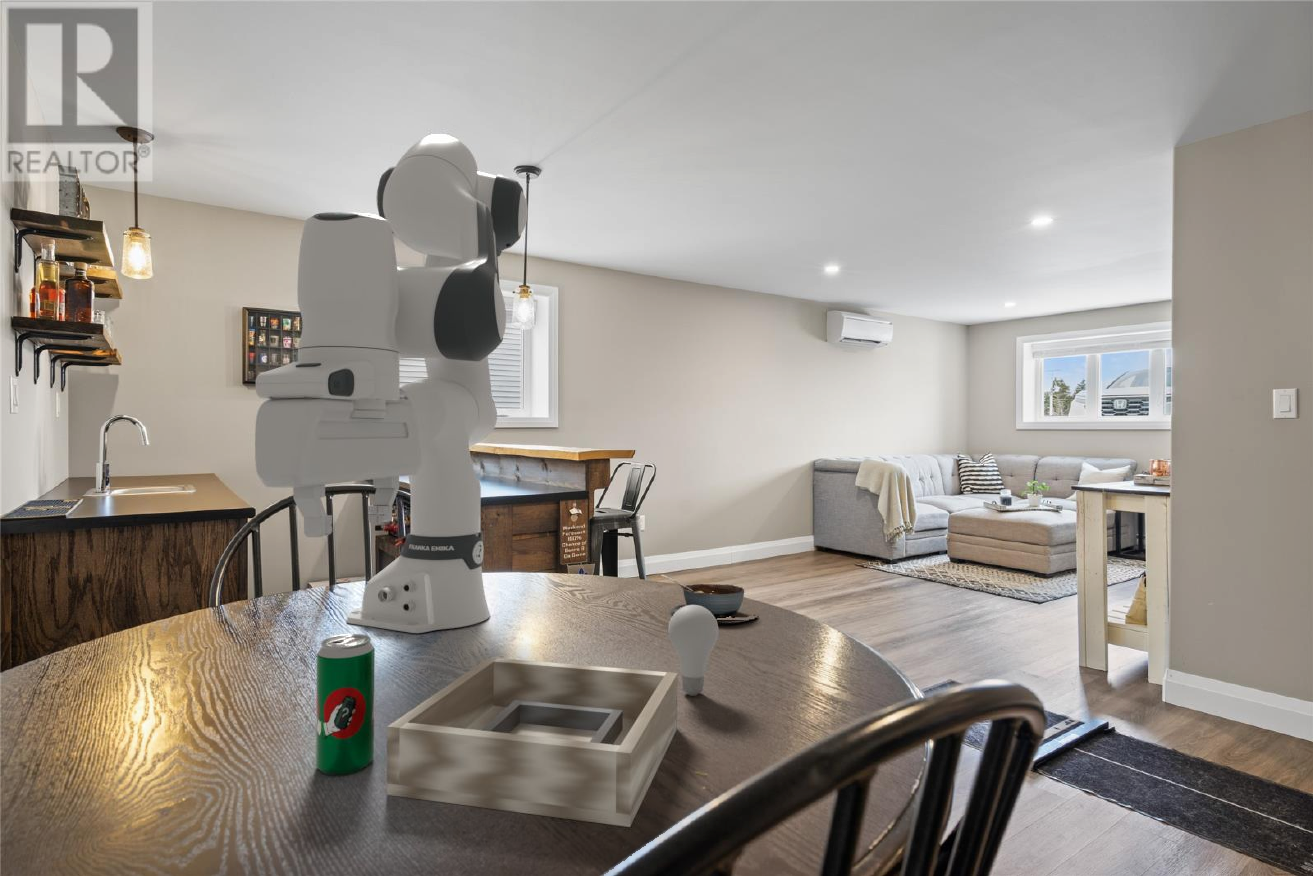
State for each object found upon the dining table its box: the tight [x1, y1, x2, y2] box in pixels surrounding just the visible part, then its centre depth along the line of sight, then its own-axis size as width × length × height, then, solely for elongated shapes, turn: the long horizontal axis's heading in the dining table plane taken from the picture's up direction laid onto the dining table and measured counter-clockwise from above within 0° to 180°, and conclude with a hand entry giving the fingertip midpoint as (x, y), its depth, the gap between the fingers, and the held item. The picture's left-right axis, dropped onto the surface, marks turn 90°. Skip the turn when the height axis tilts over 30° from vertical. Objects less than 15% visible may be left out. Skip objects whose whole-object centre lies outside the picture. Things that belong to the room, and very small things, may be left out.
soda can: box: [315, 633, 376, 776], centre depth 69 cm, size 5×5×12 cm
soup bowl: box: [661, 574, 758, 625], centre depth 125 cm, size 15×16×7 cm
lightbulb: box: [667, 605, 720, 697], centre depth 88 cm, size 6×6×11 cm
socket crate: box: [386, 657, 679, 828], centre depth 71 cm, size 22×20×6 cm
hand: (351, 529), depth 69 cm, fingers open, 8 cm apart
